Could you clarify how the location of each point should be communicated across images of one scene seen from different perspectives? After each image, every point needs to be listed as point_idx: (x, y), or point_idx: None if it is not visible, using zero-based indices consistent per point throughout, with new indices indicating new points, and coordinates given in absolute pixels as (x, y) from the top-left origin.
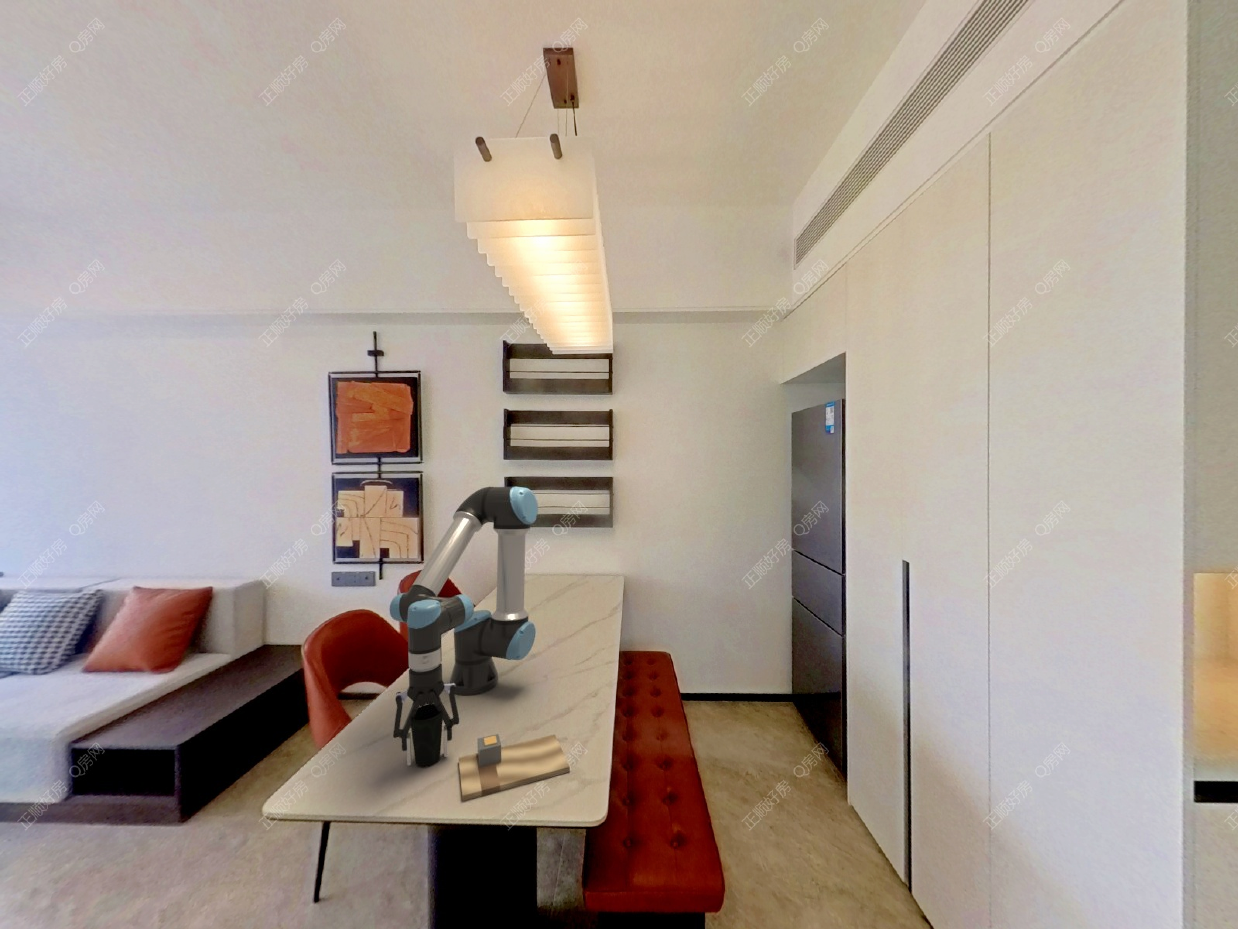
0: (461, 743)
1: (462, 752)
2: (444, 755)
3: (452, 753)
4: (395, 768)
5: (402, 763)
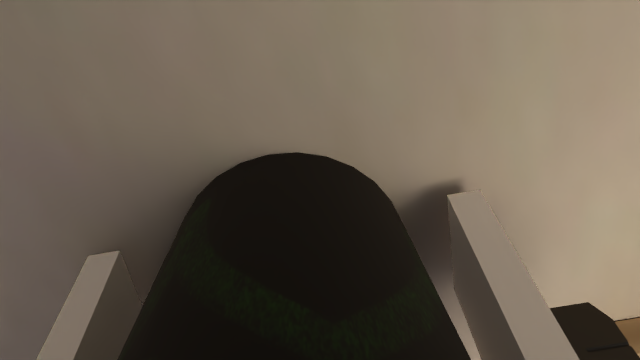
0: (632, 40)
1: (618, 201)
2: (458, 296)
3: (522, 197)
4: (14, 302)
5: (49, 250)
